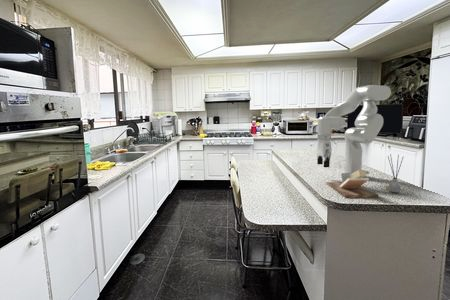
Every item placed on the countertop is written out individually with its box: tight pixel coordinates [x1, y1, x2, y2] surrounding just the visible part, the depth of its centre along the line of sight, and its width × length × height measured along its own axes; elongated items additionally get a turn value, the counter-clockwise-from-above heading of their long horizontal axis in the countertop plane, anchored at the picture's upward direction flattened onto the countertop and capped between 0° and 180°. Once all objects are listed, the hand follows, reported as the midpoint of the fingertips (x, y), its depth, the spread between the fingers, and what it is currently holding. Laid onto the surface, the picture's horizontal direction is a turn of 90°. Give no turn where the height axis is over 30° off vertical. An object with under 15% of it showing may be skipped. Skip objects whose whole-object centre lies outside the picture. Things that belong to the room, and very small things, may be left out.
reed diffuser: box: [385, 153, 404, 193], centre depth 120 cm, size 10×7×20 cm
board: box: [324, 181, 380, 199], centre depth 125 cm, size 16×24×2 cm, turn 179°
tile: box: [340, 177, 370, 188], centre depth 121 cm, size 10×11×1 cm
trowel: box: [340, 169, 367, 183], centre depth 119 cm, size 8×6×13 cm
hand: (323, 165), depth 142 cm, fingers open, 9 cm apart
